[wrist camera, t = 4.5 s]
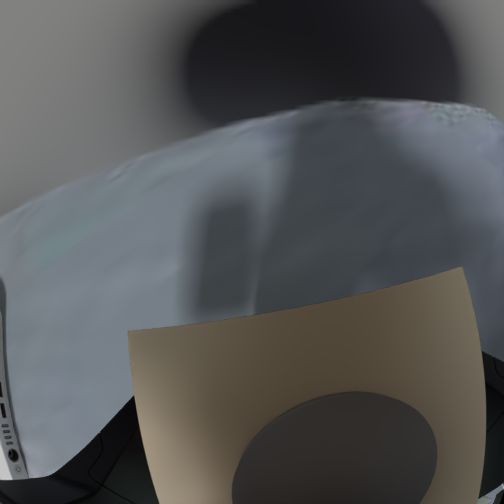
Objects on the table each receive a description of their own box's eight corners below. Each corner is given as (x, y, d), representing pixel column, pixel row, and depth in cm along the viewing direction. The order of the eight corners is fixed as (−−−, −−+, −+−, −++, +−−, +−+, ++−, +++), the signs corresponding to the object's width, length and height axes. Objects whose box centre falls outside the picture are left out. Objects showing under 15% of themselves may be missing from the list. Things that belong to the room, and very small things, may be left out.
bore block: (324, 337, 15) (470, 259, 3) (336, 409, 13) (479, 525, 1) (247, 351, 15) (117, 328, 3) (259, 424, 13) (190, 592, 1)
